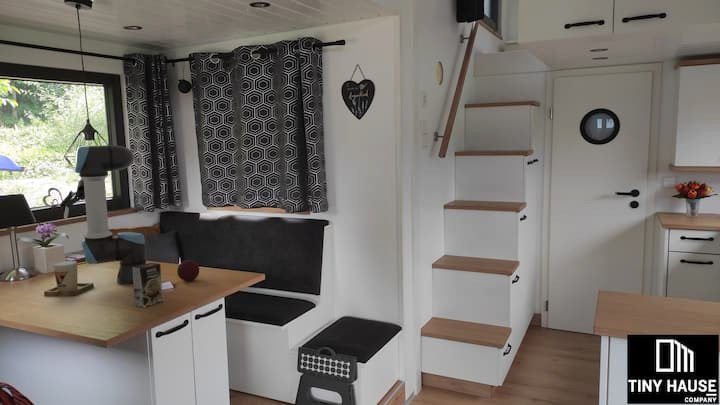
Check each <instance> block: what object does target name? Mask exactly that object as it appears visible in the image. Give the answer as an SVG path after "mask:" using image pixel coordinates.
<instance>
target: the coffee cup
mask: <svg viewBox="0 0 720 405" xmlns="http://www.w3.org/2000/svg"><path fill="white" fill-rule="evenodd" d="M53 270H54V276H55V281H56V286H57V288H58V291H73V290H76V289H77V285H78V284H77V283H78V262H77V261H75V260H68V261H67V260H66V261H60V262H56V263H54V264H53Z"/></svg>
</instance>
